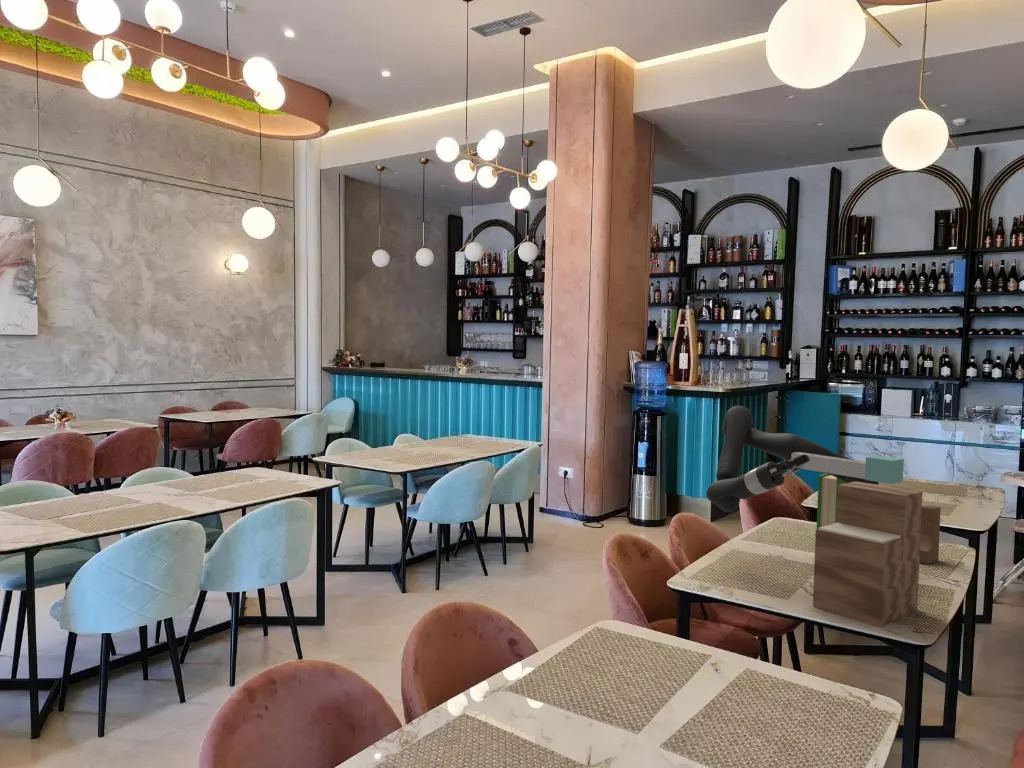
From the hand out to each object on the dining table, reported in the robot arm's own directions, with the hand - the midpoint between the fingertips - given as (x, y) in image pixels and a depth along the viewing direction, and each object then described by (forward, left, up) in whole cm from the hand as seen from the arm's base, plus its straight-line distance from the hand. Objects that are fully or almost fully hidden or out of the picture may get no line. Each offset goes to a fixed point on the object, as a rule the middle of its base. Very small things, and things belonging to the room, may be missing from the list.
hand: (810, 457), depth 209 cm
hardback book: (-71, -2, -39) cm, 82 cm away
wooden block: (-56, +28, -39) cm, 74 cm away
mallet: (+3, +9, -4) cm, 10 cm away
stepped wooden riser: (+6, +16, -39) cm, 42 cm away
